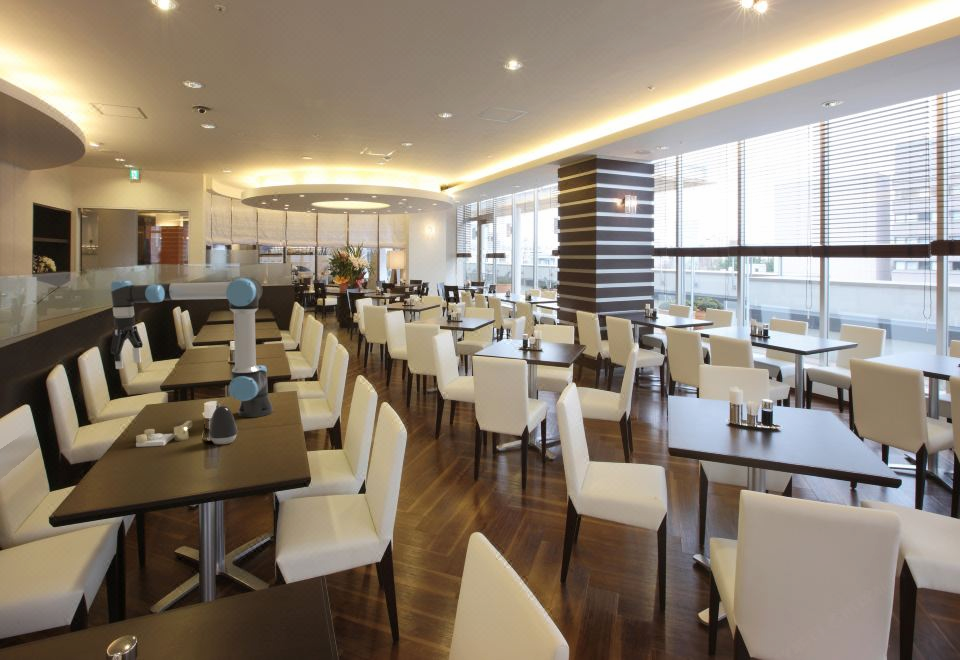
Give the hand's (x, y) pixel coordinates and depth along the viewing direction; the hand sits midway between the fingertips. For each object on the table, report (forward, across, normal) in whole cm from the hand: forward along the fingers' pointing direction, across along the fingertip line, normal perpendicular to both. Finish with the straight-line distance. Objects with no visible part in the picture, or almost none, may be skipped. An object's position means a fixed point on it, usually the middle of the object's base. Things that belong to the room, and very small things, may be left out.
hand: (128, 365), depth 234 cm
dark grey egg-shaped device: (+28, +25, +47) cm, 60 cm away
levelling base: (+27, +21, +20) cm, 40 cm away
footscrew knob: (+27, +17, +29) cm, 43 cm away
